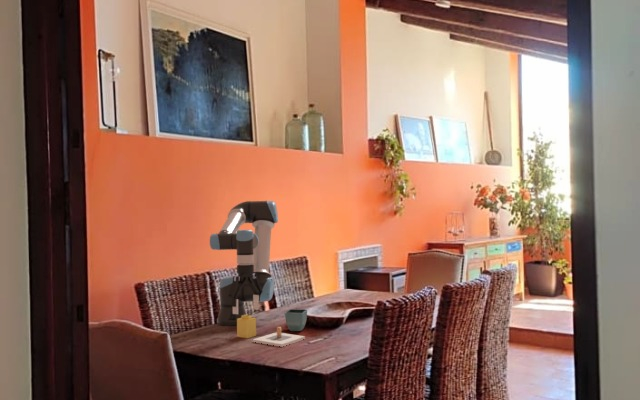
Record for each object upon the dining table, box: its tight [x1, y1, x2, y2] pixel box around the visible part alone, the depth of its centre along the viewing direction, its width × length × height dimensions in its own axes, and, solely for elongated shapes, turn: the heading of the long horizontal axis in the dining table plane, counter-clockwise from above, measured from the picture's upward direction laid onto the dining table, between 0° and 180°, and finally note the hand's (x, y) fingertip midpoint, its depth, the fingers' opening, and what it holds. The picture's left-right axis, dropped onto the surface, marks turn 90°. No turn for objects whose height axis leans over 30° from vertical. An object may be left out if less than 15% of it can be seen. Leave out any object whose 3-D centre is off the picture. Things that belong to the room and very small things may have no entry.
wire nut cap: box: [236, 314, 257, 339], centre depth 263 cm, size 6×6×9 cm
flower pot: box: [284, 308, 308, 332], centre depth 273 cm, size 9×9×9 cm
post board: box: [252, 326, 306, 348], centre depth 253 cm, size 16×16×6 cm
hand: (246, 311), depth 262 cm, fingers open, 13 cm apart
